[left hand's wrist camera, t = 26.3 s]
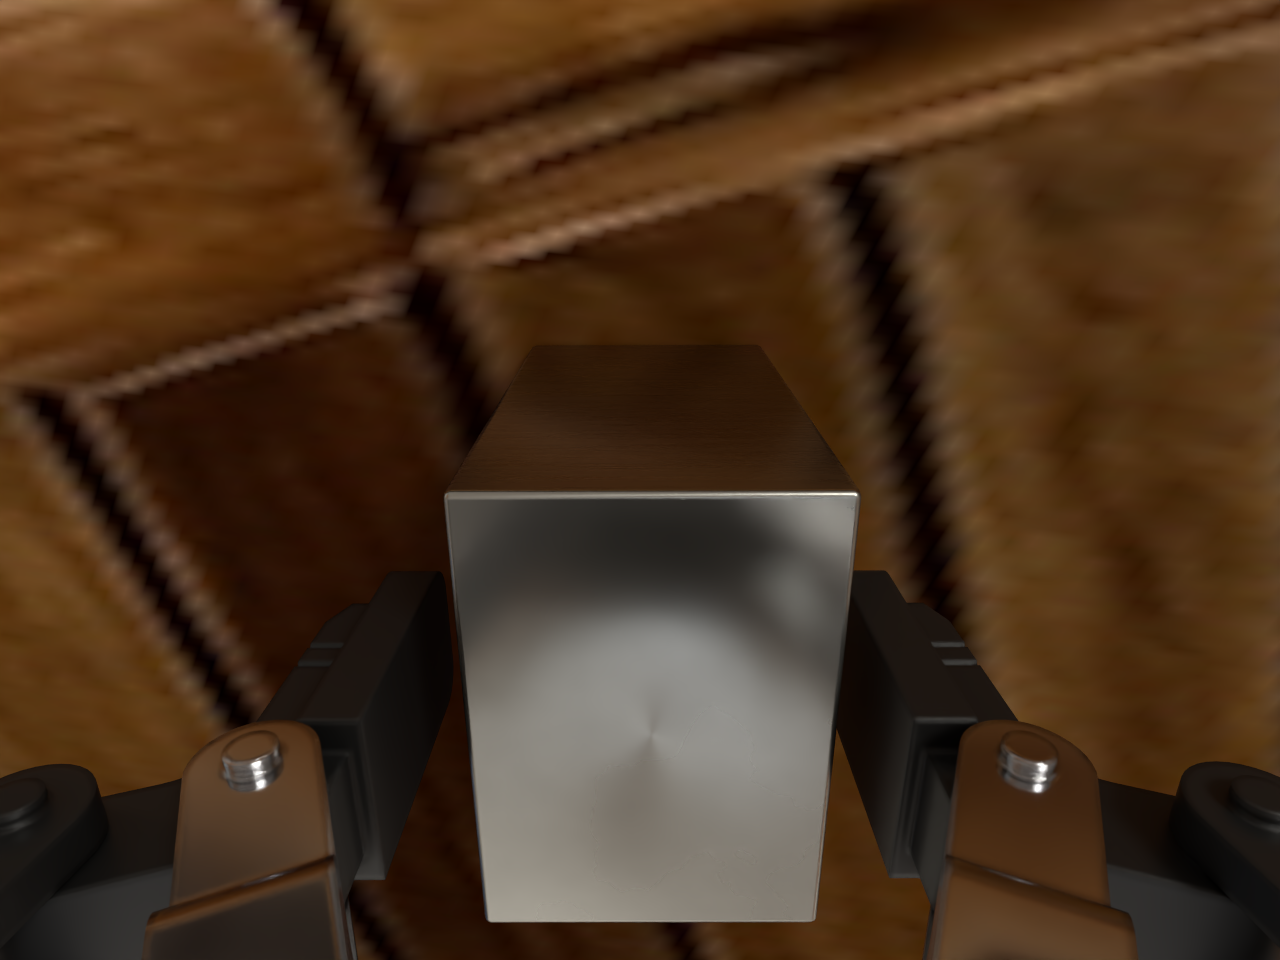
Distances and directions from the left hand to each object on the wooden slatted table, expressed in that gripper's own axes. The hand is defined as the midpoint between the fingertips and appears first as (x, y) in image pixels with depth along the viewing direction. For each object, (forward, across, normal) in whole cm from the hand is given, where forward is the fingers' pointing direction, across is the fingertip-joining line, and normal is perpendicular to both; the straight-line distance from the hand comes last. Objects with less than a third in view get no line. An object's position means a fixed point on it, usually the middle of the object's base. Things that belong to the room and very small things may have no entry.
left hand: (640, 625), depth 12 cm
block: (+5, 0, 0) cm, 5 cm away
